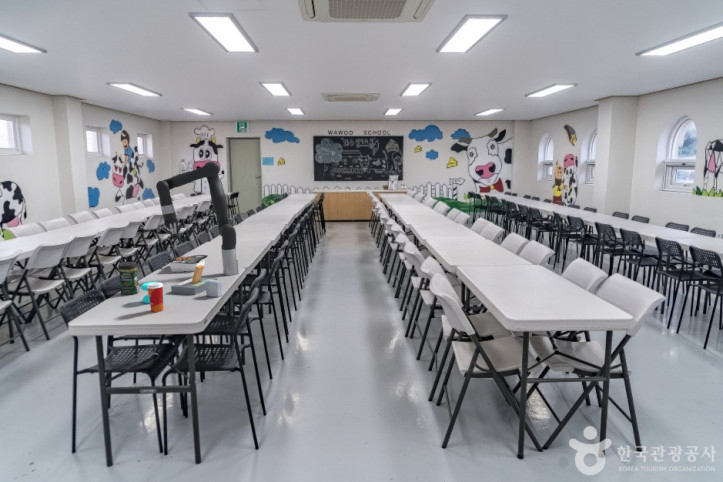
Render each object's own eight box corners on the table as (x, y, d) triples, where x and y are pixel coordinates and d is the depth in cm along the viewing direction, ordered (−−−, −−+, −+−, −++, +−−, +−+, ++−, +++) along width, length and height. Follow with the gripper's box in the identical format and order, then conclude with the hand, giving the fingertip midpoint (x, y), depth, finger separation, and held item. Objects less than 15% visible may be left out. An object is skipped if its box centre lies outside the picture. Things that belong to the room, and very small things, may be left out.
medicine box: (223, 295, 257) (221, 280, 256) (218, 297, 253) (217, 282, 252) (211, 294, 260) (210, 279, 259) (206, 296, 256) (205, 281, 254)
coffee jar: (118, 295, 261) (114, 263, 258) (125, 291, 269) (122, 260, 265) (135, 295, 261) (132, 263, 257) (142, 291, 268) (138, 260, 265)
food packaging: (176, 255, 335) (208, 254, 337) (177, 265, 336) (208, 264, 338) (164, 263, 311) (198, 261, 312) (165, 273, 312) (199, 272, 313)
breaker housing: (171, 292, 264) (170, 285, 263) (195, 283, 284) (195, 276, 284) (194, 294, 259) (194, 287, 258) (217, 284, 280) (217, 278, 279)
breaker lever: (190, 284, 269) (195, 266, 266) (196, 282, 274) (201, 264, 271) (193, 285, 269) (198, 267, 265) (199, 283, 273) (204, 265, 270)
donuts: (153, 280, 254) (164, 282, 248) (155, 297, 255) (166, 300, 250) (136, 284, 245) (148, 286, 240) (138, 302, 247) (149, 305, 242)
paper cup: (152, 308, 236) (149, 282, 233) (167, 307, 237) (165, 281, 234) (146, 313, 228) (143, 286, 226) (162, 312, 229) (159, 285, 226)
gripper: (159, 214, 275) (166, 242, 278) (181, 210, 284) (187, 237, 287) (155, 214, 281) (162, 242, 284) (177, 210, 289) (183, 237, 292)
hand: (175, 239), depth 285 cm, fingers closed
